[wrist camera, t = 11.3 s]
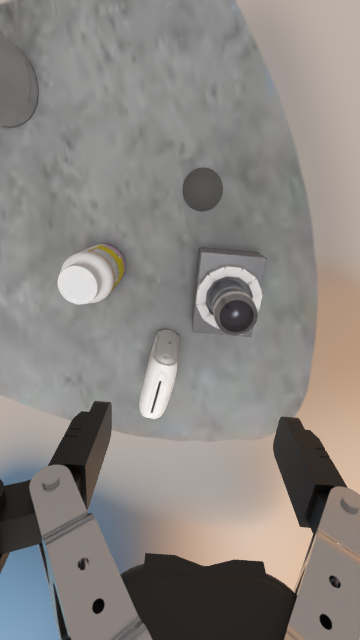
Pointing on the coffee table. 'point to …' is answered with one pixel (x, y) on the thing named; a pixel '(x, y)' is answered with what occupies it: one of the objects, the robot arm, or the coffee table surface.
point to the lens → (232, 308)
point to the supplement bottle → (91, 274)
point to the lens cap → (202, 189)
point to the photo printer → (160, 374)
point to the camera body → (218, 268)
